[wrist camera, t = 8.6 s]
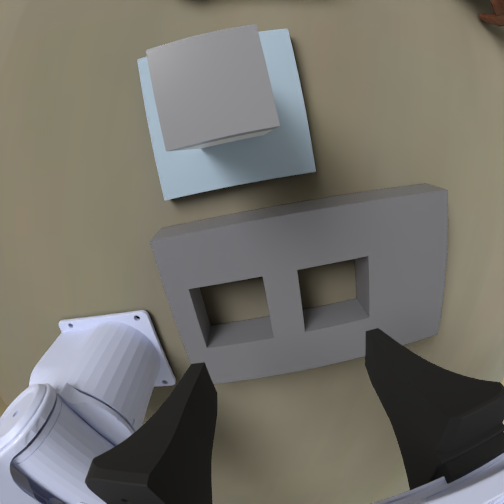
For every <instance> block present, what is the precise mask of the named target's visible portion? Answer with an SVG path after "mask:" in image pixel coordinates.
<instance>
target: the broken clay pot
mask: <svg viewBox="0 0 504 504" xmlns="http://www.w3.org/2000/svg"><path fill="white" fill-rule="evenodd" d="M491 3H492V7H493V10H494V12H495V13H494V14H490V15H489V14H479V15H478V17H479V18H480V19H481V20H482V21H484V22H487V23H490V24H496V25H498V26H504V0H491Z"/></svg>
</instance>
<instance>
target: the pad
mask: <svg viewBox="0 0 504 504" xmlns="http://www.w3.org/2000/svg"><path fill="white" fill-rule="evenodd" d="M258 33H259V37H260V41H261V45H262V49H263V53H264V57H265V61H266V66H267V70H268V74H269V78H270V83H271V87H272V92H273V96H274V100H275V105H276V110H277V114H278V119H279V124H280V126H279V127H277V128H275V129H274V130H272V131H270V132H268V133H267V134H265V135H262V136H257V137H252V138H247V139H242V140H237V141H233V142H228V143H224V144H219V145H215V146H210V147H206V148H202V149H191V150H178V151H166V149H165V145H164V140H163V136H162V131H161V127H160V122H159V117H158V112H157V108H156V103H155V98H154V93H153V88H152V82H151V77H150V72H149V66H148V61H147V57H144V58H141V59H138V60H137V61H138V68H139V74H140V80H141V87H142V93H143V98H144V104H145V110H146V115H147V121H148V126H149V131H150V136H151V141H152V146H153V151H154V156H155V160H156V165H157V170H158V174H159V179H160V183H161V187H162V192H163V196H164V200H169V199H174V198H178V197H182V196H187V195H192V194H196V193H201V192H206V191H210V190H215V189H220V188H225V187H230V186H235V185H241V184H246V183H251V182H257V181H263V180H268V179H274V178H280V177H286V176H292V175H298V174H305V173H311V172H316V169H315V162H314V156H313V150H312V144H311V138H310V132H309V126H308V121H307V115H306V110H305V105H304V100H303V95H302V90H301V85H300V80H299V75H298V71H297V66H296V61H295V57H294V53H293V48H292V44H291V40H290V36H289V32H288V29H279V30H269V31H261V32H258Z"/></svg>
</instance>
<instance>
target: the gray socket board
mask: <svg viewBox="0 0 504 504" xmlns="http://www.w3.org/2000/svg"><path fill="white" fill-rule="evenodd" d="M447 241H448V190H446V189H443V188H440V187H436V186H433V185H429V184H426V183H425V184H417V185H409V186H402V187H394V188H387V189H380V190H372V191H366V192H359V193H352V194H345V195H339V196H333V197H326V198H320V199H314V200H308V201H302V202H296V203H290V204H284V205H279V206H273V207H267V208H262V209H256V210H251V211H245V212H240V213H235V214H230V215H224V216H219V217H214V218H209V219H204V220H199V221H194V222H189V223H184V224H180V225H175V226H170V227H165V228H162V229H161V230H160V231H159V232H158V233H157V234H156V235H155V236H154V237H153V238H152V239H151V240H150V243H151V247H152V250H153V254H154V257H155V261H156V264H157V267H158V271H159V274H160V277H161V280H162V283H163V287H164V290H165V293H166V296H167V299H168V302H169V305H170V308H171V311H172V314H173V317H174V320H175V322H176V325H177V328H178V331H179V334H180V336H181V339H182V342H183V345H184V347H185V350H186V353H187V355H188V358H189V361H190V363H191V364H194V363H203V362H205V365H206V367H207V370H208V372H209V375H210V377H211V380H212V382H213V384H218V383H226V382H234V381H242V380H249V379H256V378H263V377H269V376H275V375H281V374H286V373H292V372H297V371H302V370H307V369H312V368H317V367H322V366H326V365H331V364H335V363H339V362H344V361H348V360H352V359H356V358H360V357H364V356H365V352H366V331H369V330H372V329H376V328H379V329H380V330H382V331H383V332H384V333H386V334H387V335H389V336H390V337H391V338H393V339H394V340H395V341H397V342H398V343H400V344H401V345H402V346H403V345H406V344H409V343H412V342H415V341H419V340H422V339H425V338H428V337H431V336H434V335H436V334H438V331H439V324H440V318H441V311H442V303H443V295H444V285H445V274H446V261H447ZM351 259H355V273H356V298H357V299H352V300H348V301H343V302H338V303H334V304H329V305H324V306H319V307H314V308H309V309H304V310H302V303H301V295H300V287H299V280H298V272H297V270H300V269H305V268H310V267H316V266H321V265H326V264H331V263H336V262H341V261H346V260H351ZM262 276H263V282H264V287H265V292H266V298H267V303H268V308H269V314H270V316H267V317H261V318H255V319H249V320H243V321H237V322H231V323H224V324H218V325H210V322H209V319H208V315H207V312H206V308H205V305H204V301H203V298H202V294H201V291H200V287H204V286H210V285H216V284H222V283H228V282H234V281H239V280H245V279H251V278H256V277H262Z"/></svg>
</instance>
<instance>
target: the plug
mask: <svg viewBox="0 0 504 504" xmlns="http://www.w3.org/2000/svg"><path fill="white" fill-rule="evenodd" d="M146 55H147V61H148V66H149V72H150V77H151V82H152V88H153V93H154V98H155V103H156V108H157V112H158V117H159V122H160V127H161V131H162V136H163V140H164V145H165V149H166V151H178V150H191V149H202V148H206V147H210V146H215V145H219V144H224V143H228V142H233V141H237V140H242V139H247V138H252V137H257V136H262V135H265V134H267V133H268V132H270V131H272V130H274V129H275V128H277V127H279V126H280V124H279V119H278V114H277V110H276V105H275V100H274V96H273V92H272V87H271V83H270V78H269V74H268V70H267V66H266V61H265V57H264V53H263V49H262V45H261V41H260V37H259V33H258V29H257V25H256V24H251V25H245V26H239V27H233V28H228V29H223V30H218V31H214V32H209V33H205V34H201V35H196V36H192V37H189V38H185V39H181V40H178V41H174V42H171V43H167V44H164V45H161V46H157V47H154V48H151V49H148V50H146Z"/></svg>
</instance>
